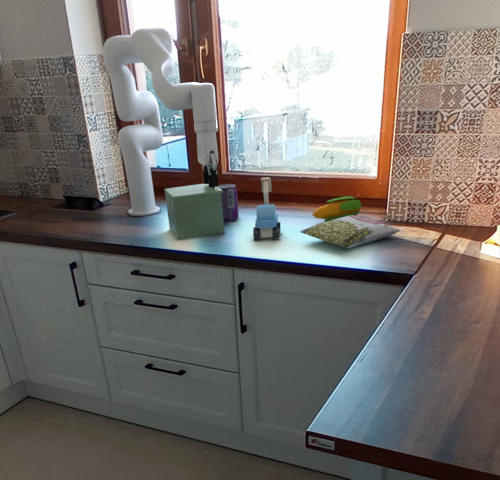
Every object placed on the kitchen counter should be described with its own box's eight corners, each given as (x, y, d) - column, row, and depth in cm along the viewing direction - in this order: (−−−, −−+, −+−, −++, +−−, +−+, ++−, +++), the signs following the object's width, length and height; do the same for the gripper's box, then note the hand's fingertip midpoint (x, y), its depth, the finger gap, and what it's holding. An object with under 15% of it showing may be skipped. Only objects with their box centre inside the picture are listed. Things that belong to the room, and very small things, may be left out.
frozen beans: (298, 222, 185) (356, 207, 196) (298, 240, 188) (355, 224, 199) (344, 237, 170) (403, 220, 182) (343, 257, 173) (401, 239, 185)
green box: (213, 224, 213) (210, 185, 206) (224, 233, 201) (221, 193, 194) (169, 230, 209) (164, 191, 202) (178, 240, 197) (173, 199, 190)
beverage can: (241, 217, 218) (239, 183, 212) (234, 222, 213) (232, 188, 206) (223, 216, 220) (221, 183, 214) (216, 221, 215) (213, 187, 208)
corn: (367, 194, 204) (318, 203, 197) (366, 217, 208) (319, 226, 201) (354, 192, 210) (307, 201, 203) (354, 214, 214) (308, 223, 207)
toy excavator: (282, 227, 203) (280, 175, 194) (279, 241, 189) (277, 186, 180) (257, 228, 204) (255, 176, 195) (253, 242, 190) (250, 187, 181)
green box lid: (211, 185, 206) (210, 170, 203) (222, 192, 194) (221, 176, 191) (164, 191, 202) (162, 175, 199) (173, 199, 190) (171, 183, 187)
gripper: (188, 125, 195) (194, 182, 205) (201, 130, 181) (206, 191, 191) (210, 123, 197) (215, 179, 206) (224, 128, 183) (228, 188, 193)
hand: (211, 184), depth 199 cm, fingers closed on green box lid, 5 cm apart
